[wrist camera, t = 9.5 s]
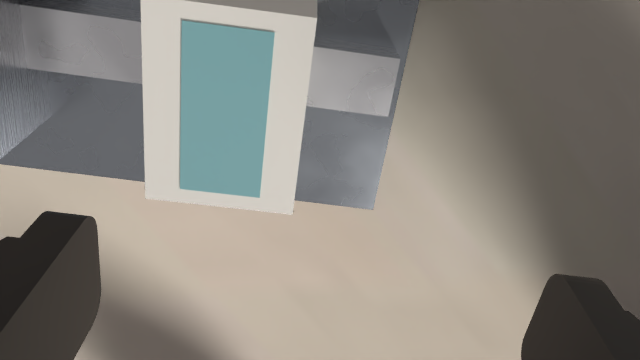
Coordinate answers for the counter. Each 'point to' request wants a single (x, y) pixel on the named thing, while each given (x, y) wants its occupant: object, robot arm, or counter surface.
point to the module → (225, 100)
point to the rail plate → (127, 91)
